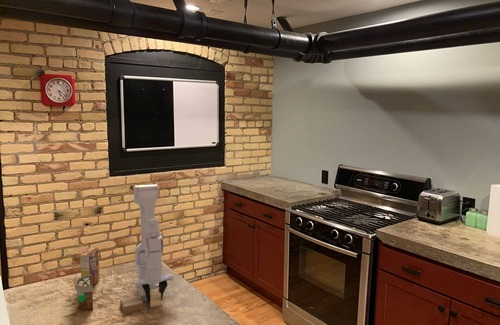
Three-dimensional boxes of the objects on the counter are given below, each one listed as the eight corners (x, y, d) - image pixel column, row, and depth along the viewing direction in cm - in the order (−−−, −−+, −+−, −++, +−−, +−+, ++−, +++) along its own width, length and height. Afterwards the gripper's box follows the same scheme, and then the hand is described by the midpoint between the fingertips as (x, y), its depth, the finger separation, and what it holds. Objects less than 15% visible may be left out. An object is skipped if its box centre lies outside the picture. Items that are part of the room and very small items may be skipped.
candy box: (90, 280, 167) (89, 247, 165) (100, 280, 167) (99, 247, 165) (80, 289, 158) (79, 254, 156) (90, 289, 158) (89, 255, 156)
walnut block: (120, 306, 146) (120, 298, 146) (138, 302, 149) (138, 294, 149) (124, 314, 140) (123, 306, 140) (143, 310, 143) (142, 302, 143)
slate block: (138, 295, 155) (138, 288, 155) (155, 291, 158) (155, 284, 158) (142, 302, 149) (142, 295, 149) (159, 298, 152) (159, 291, 152)
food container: (75, 299, 149) (75, 275, 148) (92, 297, 152) (91, 273, 151) (75, 315, 138) (74, 289, 137) (93, 312, 141) (92, 286, 139)
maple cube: (148, 302, 148) (148, 290, 147) (158, 300, 150) (158, 288, 149) (150, 307, 145) (150, 295, 144) (161, 305, 146) (160, 293, 146)
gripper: (137, 274, 139) (137, 309, 140) (175, 267, 145) (175, 301, 147) (133, 267, 145) (133, 301, 146) (170, 261, 152) (170, 293, 153)
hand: (154, 300), depth 147 cm, fingers closed on maple cube, 4 cm apart
